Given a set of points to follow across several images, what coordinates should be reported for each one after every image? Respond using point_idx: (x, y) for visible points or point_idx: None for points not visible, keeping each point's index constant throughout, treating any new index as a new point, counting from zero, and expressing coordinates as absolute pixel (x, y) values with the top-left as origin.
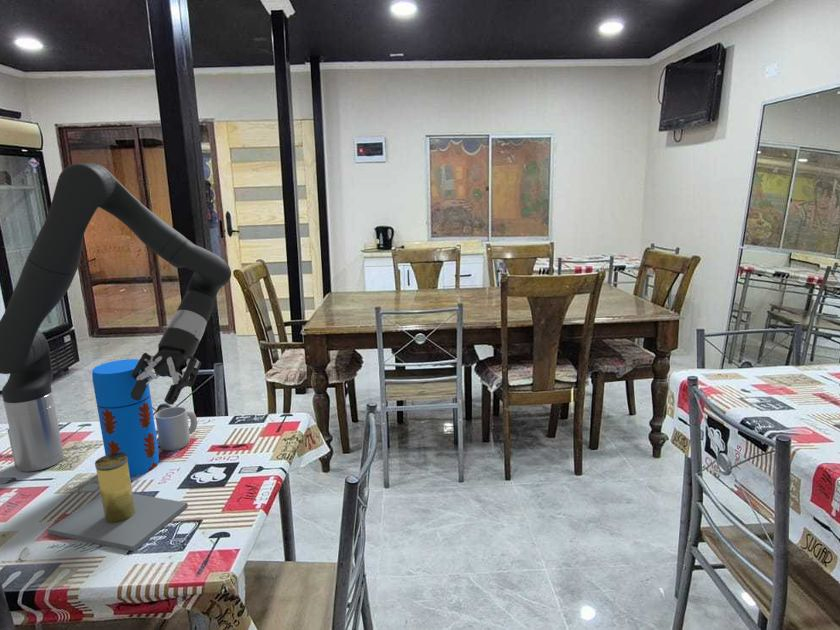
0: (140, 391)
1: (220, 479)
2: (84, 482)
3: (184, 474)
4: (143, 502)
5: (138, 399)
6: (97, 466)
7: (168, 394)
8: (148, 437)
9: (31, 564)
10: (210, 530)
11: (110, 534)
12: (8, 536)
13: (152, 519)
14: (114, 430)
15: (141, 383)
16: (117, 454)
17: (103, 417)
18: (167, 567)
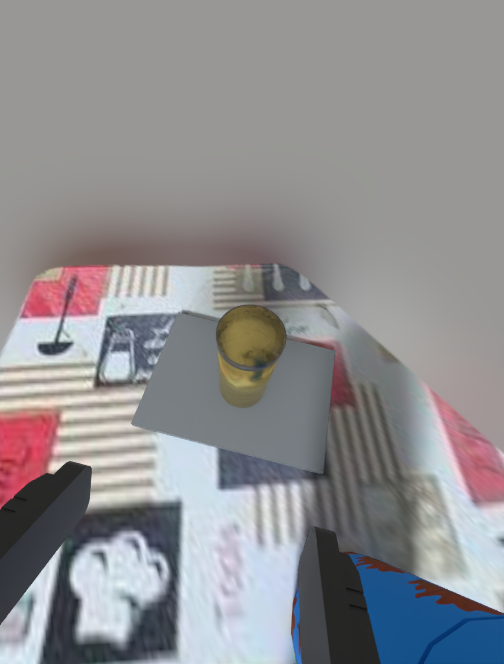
0: (310, 608)
1: (83, 552)
2: (413, 525)
3: (189, 579)
4: (221, 424)
5: (300, 560)
6: (264, 308)
7: (48, 490)
8: None
9: (301, 299)
10: (73, 358)
11: None
12: (386, 350)
13: (178, 372)
14: (412, 584)
15: (323, 661)
16: (252, 358)
17: (493, 609)
18: (119, 288)
